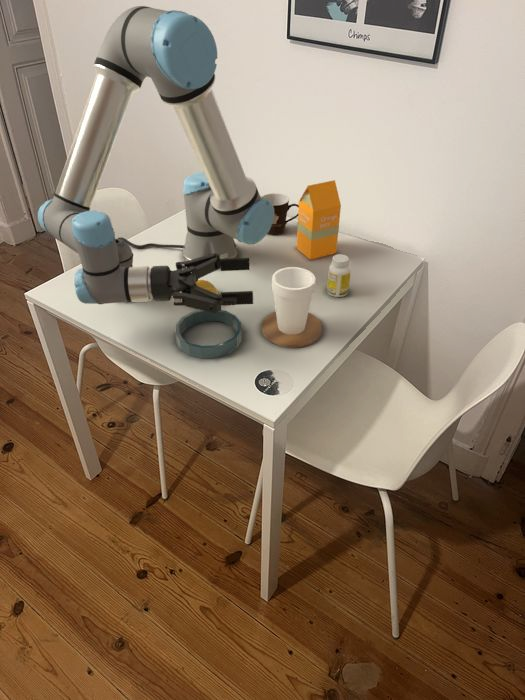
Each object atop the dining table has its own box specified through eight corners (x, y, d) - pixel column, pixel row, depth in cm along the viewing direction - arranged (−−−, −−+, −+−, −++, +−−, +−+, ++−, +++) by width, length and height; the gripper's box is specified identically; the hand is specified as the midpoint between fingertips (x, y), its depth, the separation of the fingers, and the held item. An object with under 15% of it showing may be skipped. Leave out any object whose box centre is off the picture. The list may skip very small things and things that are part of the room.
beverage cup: (145, 291, 135) (133, 218, 122) (131, 307, 130) (116, 232, 117) (120, 286, 137) (106, 214, 124) (105, 301, 132) (88, 227, 119)
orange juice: (296, 248, 153) (299, 180, 140) (322, 241, 156) (327, 175, 144) (310, 260, 148) (314, 191, 135) (336, 253, 151) (343, 185, 138)
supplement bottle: (348, 287, 137) (352, 253, 131) (347, 298, 133) (351, 264, 127) (327, 285, 138) (330, 251, 131) (325, 296, 133) (329, 262, 127)
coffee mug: (254, 232, 161) (254, 201, 154) (269, 221, 166) (269, 191, 160) (287, 241, 156) (288, 210, 150) (301, 230, 162) (303, 199, 155)
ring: (163, 339, 120) (162, 329, 118) (209, 311, 128) (208, 301, 126) (208, 367, 112) (208, 356, 110) (254, 336, 121) (254, 325, 119)
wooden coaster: (249, 330, 122) (249, 327, 122) (287, 304, 131) (287, 302, 130) (296, 356, 115) (296, 353, 115) (333, 327, 124) (334, 324, 123)
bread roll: (190, 311, 128) (189, 298, 126) (182, 292, 135) (180, 279, 132) (223, 305, 130) (222, 291, 128) (213, 286, 137) (212, 273, 134)
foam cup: (308, 341, 118) (312, 292, 110) (267, 336, 119) (268, 287, 111) (314, 317, 125) (317, 269, 117) (275, 312, 127) (276, 264, 118)
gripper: (158, 269, 125) (248, 265, 126) (148, 333, 106) (254, 328, 107) (154, 240, 120) (247, 237, 121) (143, 302, 101) (254, 297, 102)
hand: (251, 279), depth 114 cm, fingers open, 13 cm apart
